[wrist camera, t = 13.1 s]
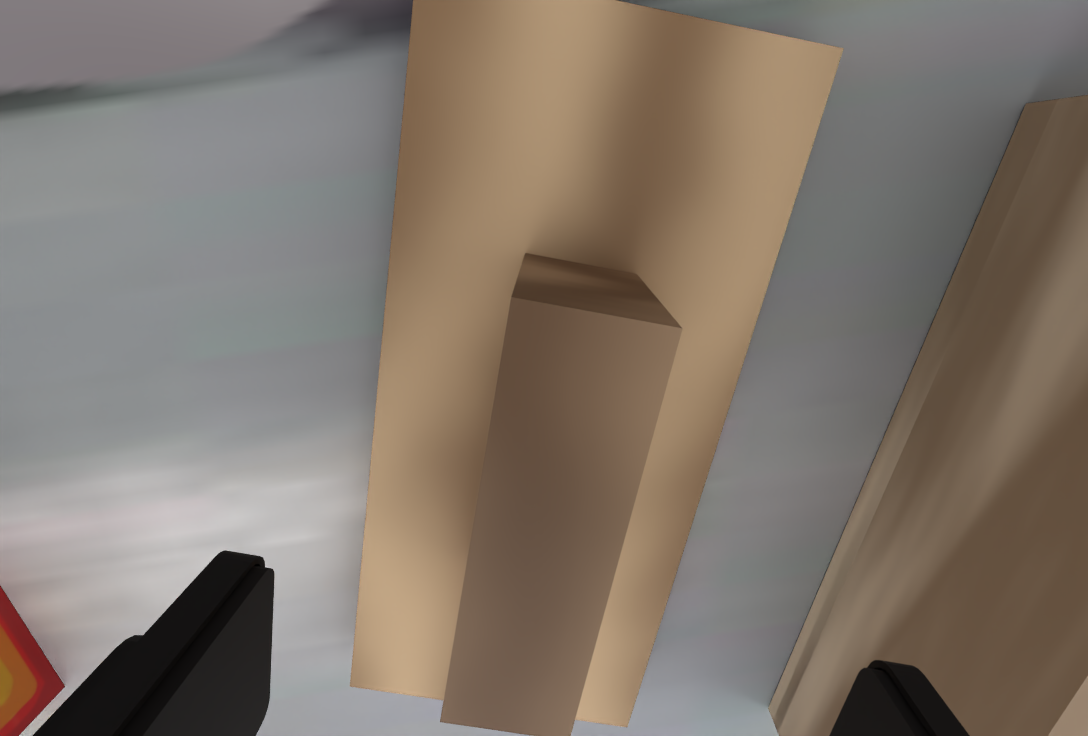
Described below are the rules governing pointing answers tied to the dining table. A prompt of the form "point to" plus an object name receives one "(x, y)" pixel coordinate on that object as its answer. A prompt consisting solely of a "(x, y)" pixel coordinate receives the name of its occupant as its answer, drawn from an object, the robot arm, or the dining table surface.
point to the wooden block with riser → (564, 339)
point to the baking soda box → (22, 673)
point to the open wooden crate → (979, 477)
